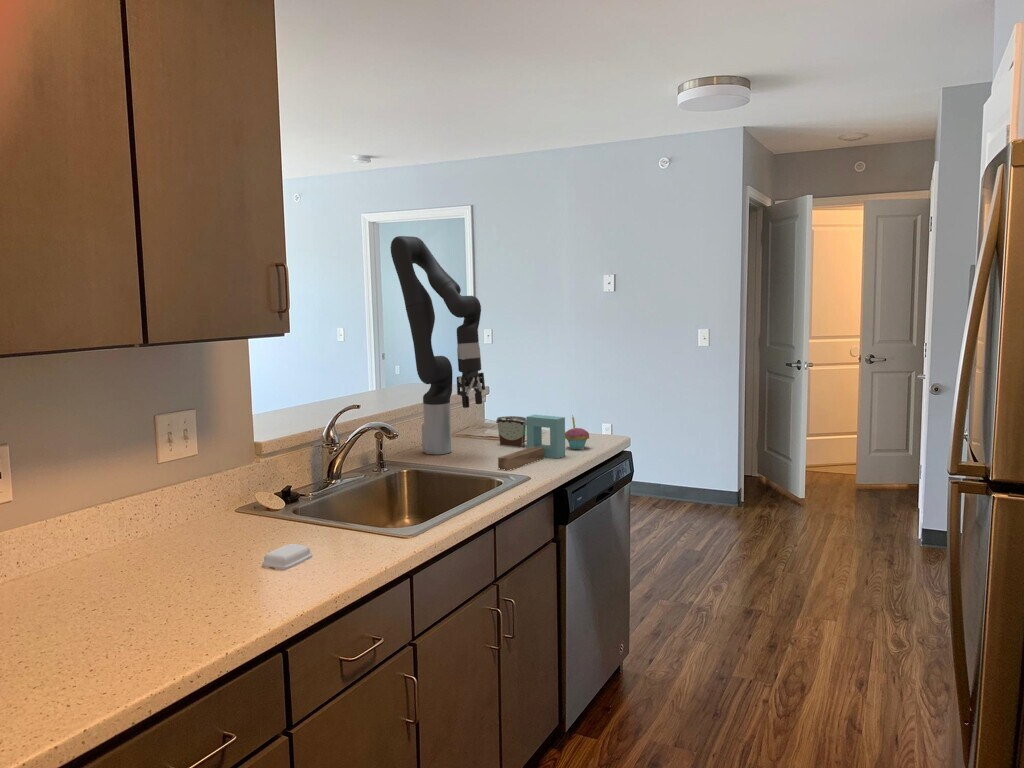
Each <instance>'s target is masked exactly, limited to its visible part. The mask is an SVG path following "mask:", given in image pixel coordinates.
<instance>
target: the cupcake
mask: <svg viewBox="0 0 1024 768" xmlns="http://www.w3.org/2000/svg"><path fill="white" fill-rule="evenodd" d="M571 419H572V426H573V427H572V428H570V429H568V430H566V431H565V440H567V442H568V444H569V448H570V449H571V448H572V449H571V450H575V449H579V450H583V448H585V446H586V443H587V440H588V439H590V433H589V431H588V430H586V429H584V428H581V427H576V424H575V417H574V415H573V414H572V417H571Z"/></svg>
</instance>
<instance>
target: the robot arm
mask: <svg viewBox="0 0 1024 768" xmlns="http://www.w3.org/2000/svg"><path fill="white" fill-rule="evenodd" d="M390 255H391V259H392V262H393V266H394V269H395V271H396V273H397V277H398V281H399V284H400V287H401V293H402V296H403V300H404V306H405V311H406V315H407V318H408V319H407V320H408V323H409V327H410V332H411V333H410V334H411V338H412V343H413V350H414V357H415V365H416V372H417V375H418V378H419V379H420V381H421V382H422V383H423V384H425V385H429V386H430V387H429V389H428V391H427V392H425V393H424V394H423V396H422V407H423V409H422V411H423V413H422V414H423V424H421V444H422V445H421V447H422V451H421V452H422V453H425V454H427V455H445V454H449V453H451V452H452V426H451V424H452V423H451V420H452V419H451V396H452V393H453V365H452V363H451V361H450V359H449V358H448V357H447V356H445V355H434V349H433V344H432V336H433V331H434V328H435V322H436V321H435V320H436V315H435V309H434V304H433V300H432V297H431V295H430V294H429V292H428V290H427V289H426V287H425V286H424V285H423V284H422V282H421V280H420V279H419V277H417V274H416V272H415V269H414V264H416V265H417V266H419V268H421V269H422V270H423V271H424V272H425V274H426V276H427V281H428V282H429V283H428V284H429V285H430V286H431V289H433V291H435V293H437V294H438V296H439V297H440V298H441V299H442V300H443V302H444V304H445V306H446V307H447V309H448V311H449V313H450V314H452V315H453V316H454V317H457V318H460V319H461V318H462V319H463V322H462V324H461V325H459V326H457V328H456V340H457V341H456V342H457V343H456V344H457V347H456V353H457V354H456V355H457V366H458V367H457V369H458V372H460V373H461V376H459V375H458V376H457V377H456V393H457V395H458V396H460V397H461V404H462V408H463V409H468V408H470V397H469V394H470V391H472V389H473V391H474V399H475V403H474V404H475V405H482V404H483V394H482V393H484V392H483V391H485V390H486V385H485V383H486V382H485V374H484V373H485V372H480V371H482V361H481V360H482V359H481V358H482V357H481V348H480V343H479V326H480V320H481V315H482V314H481V312H482V306H481V302H480V300H479V299H478V298H477V297H476V295H475V296H474V295H461V290H462V289H461V287H460V285H459V284H458V282H457V281H456V280H455V279H453V277H452V276H450V274H448V272H447V271H446V270H445V269H444V268H443V267H442V266H441V264H440V263H439V262H438V260H437V259H436V258H435V255H433V254H432V252H431V251H430V249H429V248H428V246H427V245H426V243H424V241H423V240H422V239H421V238H419V237H417V236H406V235H399V236H398V235H397V236H396V237H393V239H392V241H391V243H390Z"/></svg>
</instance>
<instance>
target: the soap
mask: <svg viewBox="0 0 1024 768" xmlns="http://www.w3.org/2000/svg"><path fill="white" fill-rule="evenodd" d="M312 558H313V554H312V553H311V549H310V547H309V546H308V545H307V546H306V545H302V544H297V543H296V544H295V543H288V544H285V545H283V546H281V547H278V548H276V549H274V550H271V551H270V552H268V553H266V554H265V555H264V556H263V561H262V563H261V567H263V568H268V569H270V568H274V569H275V570H279V571H287V570H289V569H292V568H294V567H296V566H299V565H300V564H302V563H305V562H306V561H309V560H310V559H312Z"/></svg>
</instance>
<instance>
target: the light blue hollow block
mask: <svg viewBox="0 0 1024 768" xmlns="http://www.w3.org/2000/svg"><path fill="white" fill-rule="evenodd" d="M525 418H526V421H527V425H526V449H527V448H530V447H533V446H535V447H543V448H544V458H548V457H550V458H551V459H556V458H557V459H560V457H561V458H563V457H566V439H565V433H566V417H564V416H555V415H543V414H532V415H528V416H525ZM543 428H548V429H549V444H543V442H542V441H543V440H542V439H543V438H542V437H543V435H542V429H543ZM557 459H556V460H557Z"/></svg>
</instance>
